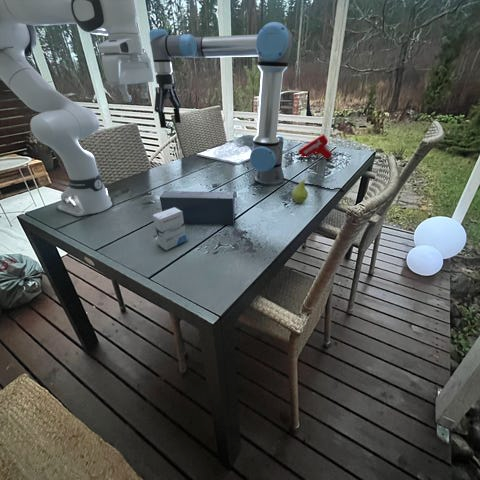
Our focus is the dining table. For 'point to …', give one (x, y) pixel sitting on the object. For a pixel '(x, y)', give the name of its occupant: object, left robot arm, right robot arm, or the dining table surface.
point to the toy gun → (316, 148)
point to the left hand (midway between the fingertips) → (137, 100)
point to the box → (201, 206)
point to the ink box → (170, 228)
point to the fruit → (300, 192)
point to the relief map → (228, 153)
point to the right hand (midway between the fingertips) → (171, 125)
